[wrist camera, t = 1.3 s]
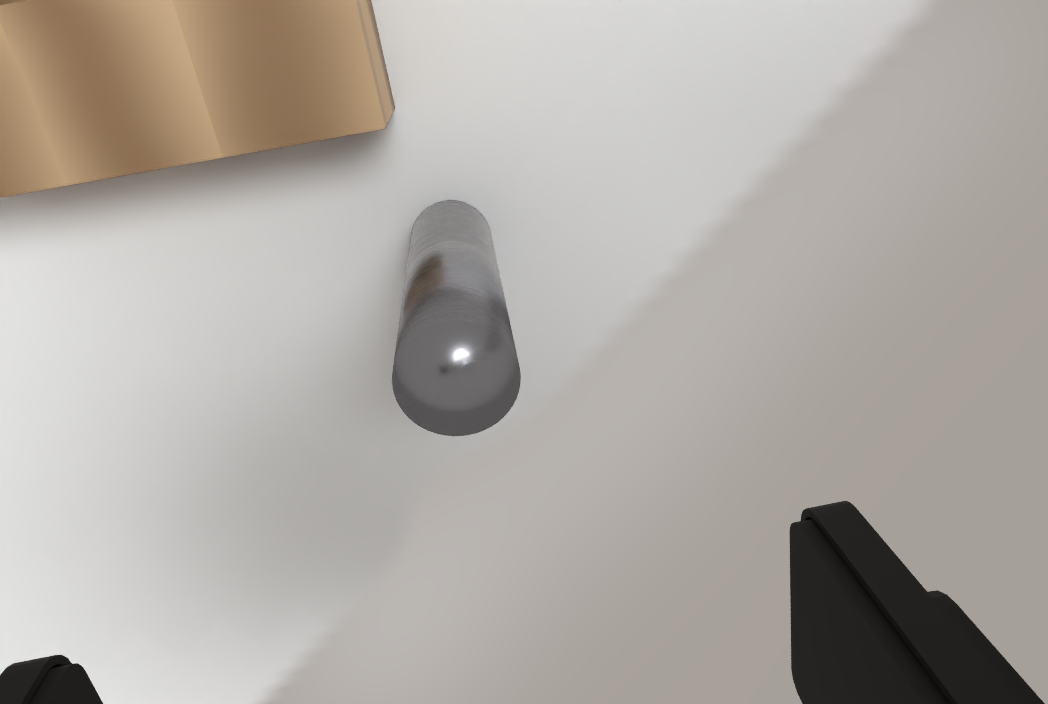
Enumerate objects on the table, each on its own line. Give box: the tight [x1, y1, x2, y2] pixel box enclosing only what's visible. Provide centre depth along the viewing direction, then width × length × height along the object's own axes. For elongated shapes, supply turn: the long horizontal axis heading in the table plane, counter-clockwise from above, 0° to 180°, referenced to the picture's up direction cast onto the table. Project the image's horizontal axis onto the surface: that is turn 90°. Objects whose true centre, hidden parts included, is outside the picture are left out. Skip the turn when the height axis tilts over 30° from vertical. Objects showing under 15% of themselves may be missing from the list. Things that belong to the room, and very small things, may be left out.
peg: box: [392, 200, 521, 436], centre depth 23 cm, size 3×3×12 cm
